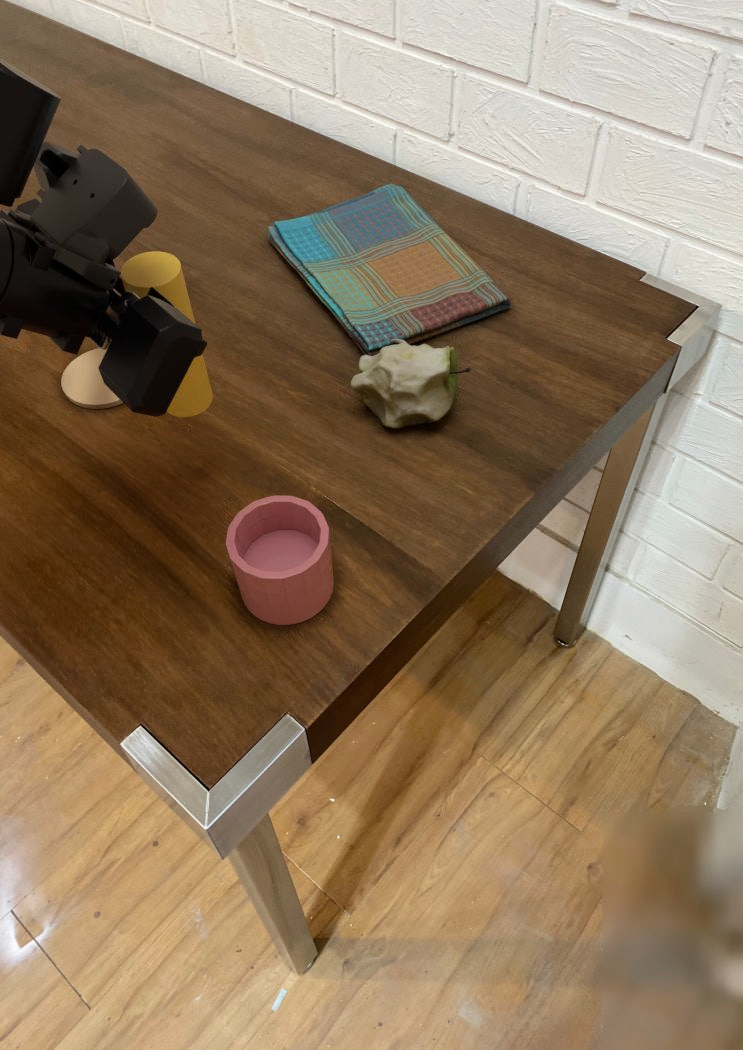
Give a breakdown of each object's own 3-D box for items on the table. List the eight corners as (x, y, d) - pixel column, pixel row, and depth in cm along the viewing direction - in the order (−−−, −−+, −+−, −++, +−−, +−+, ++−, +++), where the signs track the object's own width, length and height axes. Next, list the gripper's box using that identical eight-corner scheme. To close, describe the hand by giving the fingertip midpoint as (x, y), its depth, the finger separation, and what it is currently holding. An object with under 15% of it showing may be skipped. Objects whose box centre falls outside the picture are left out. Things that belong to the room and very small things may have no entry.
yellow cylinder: (182, 425, 60) (143, 295, 50) (151, 400, 61) (108, 269, 52) (223, 398, 61) (192, 267, 52) (191, 374, 63) (156, 243, 53)
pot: (254, 638, 57) (241, 591, 52) (230, 562, 61) (215, 512, 56) (346, 607, 59) (342, 559, 53) (316, 534, 63) (310, 483, 57)
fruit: (474, 408, 73) (490, 354, 65) (401, 464, 70) (409, 415, 62) (407, 346, 75) (415, 288, 68) (334, 398, 72) (334, 344, 65)
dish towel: (400, 197, 91) (400, 177, 89) (514, 308, 79) (517, 287, 77) (266, 241, 87) (263, 220, 85) (365, 366, 74) (365, 345, 72)
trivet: (69, 418, 71) (66, 414, 70) (58, 363, 75) (55, 358, 75) (155, 395, 72) (154, 391, 72) (139, 342, 77) (138, 337, 76)
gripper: (131, 201, 37) (322, 294, 51) (-35, 73, 46) (166, 181, 59) (40, 398, 41) (242, 437, 54) (-99, 244, 49) (105, 311, 62)
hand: (187, 333), depth 57 cm, fingers closed on yellow cylinder, 4 cm apart
